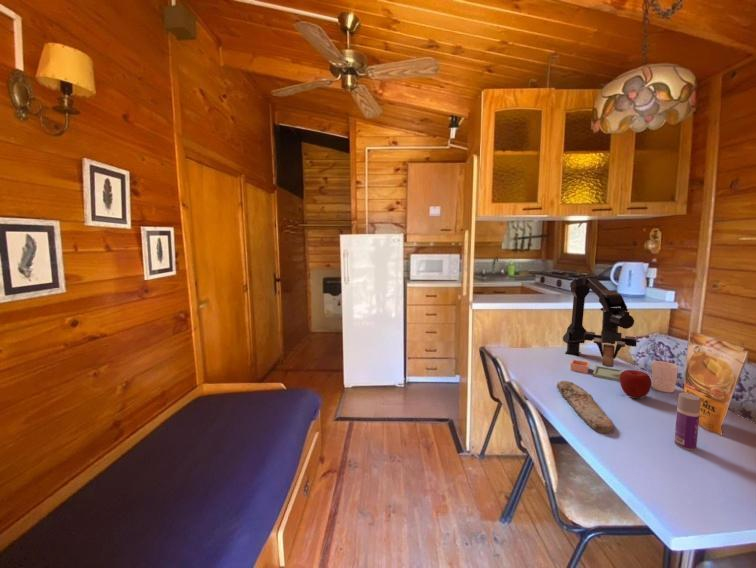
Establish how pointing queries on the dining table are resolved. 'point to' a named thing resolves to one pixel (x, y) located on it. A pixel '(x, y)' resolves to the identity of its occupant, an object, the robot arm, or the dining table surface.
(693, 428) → the container
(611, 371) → the tray
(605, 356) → the dowel
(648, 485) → the dining table surface
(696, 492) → the dining table surface
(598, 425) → the french baguette
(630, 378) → the apple
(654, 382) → the pink cylinder
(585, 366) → the holder
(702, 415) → the pancake mix bag
